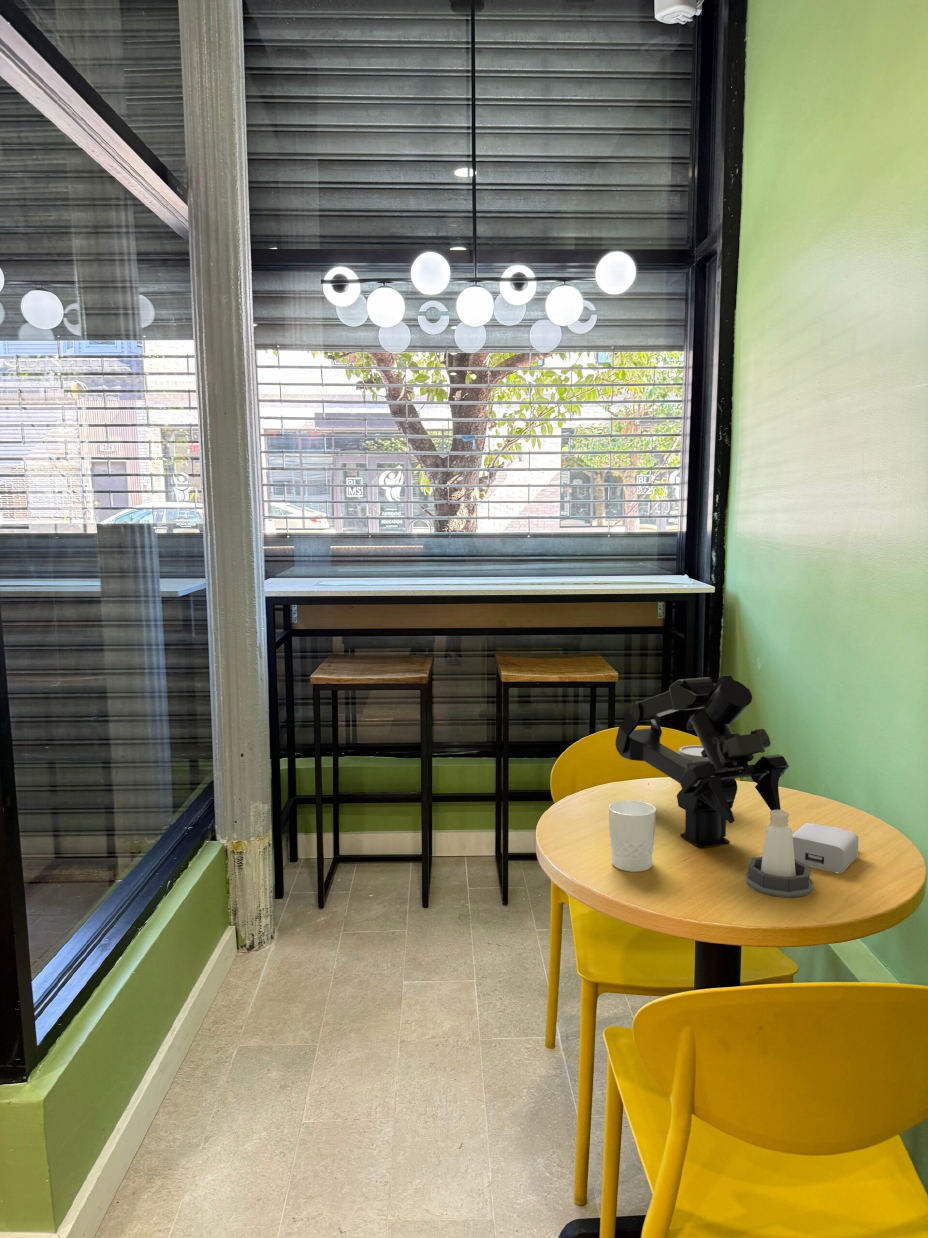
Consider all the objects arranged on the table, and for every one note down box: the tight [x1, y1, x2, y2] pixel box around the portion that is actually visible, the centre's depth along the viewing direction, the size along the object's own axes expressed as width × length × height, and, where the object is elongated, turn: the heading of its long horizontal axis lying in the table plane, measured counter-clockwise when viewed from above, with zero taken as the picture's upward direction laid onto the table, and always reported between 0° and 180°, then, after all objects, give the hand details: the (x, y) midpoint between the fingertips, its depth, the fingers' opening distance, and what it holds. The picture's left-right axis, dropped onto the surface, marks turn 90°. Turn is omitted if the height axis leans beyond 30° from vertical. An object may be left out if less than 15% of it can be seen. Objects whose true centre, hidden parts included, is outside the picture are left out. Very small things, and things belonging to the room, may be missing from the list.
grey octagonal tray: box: [745, 855, 814, 899], centre depth 128 cm, size 10×10×3 cm
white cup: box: [608, 799, 657, 873], centre depth 136 cm, size 8×8×10 cm
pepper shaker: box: [761, 809, 796, 877], centre depth 128 cm, size 5×5×11 cm
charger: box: [792, 822, 859, 874], centre depth 140 cm, size 5×9×15 cm
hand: (756, 818), depth 133 cm, fingers open, 9 cm apart
